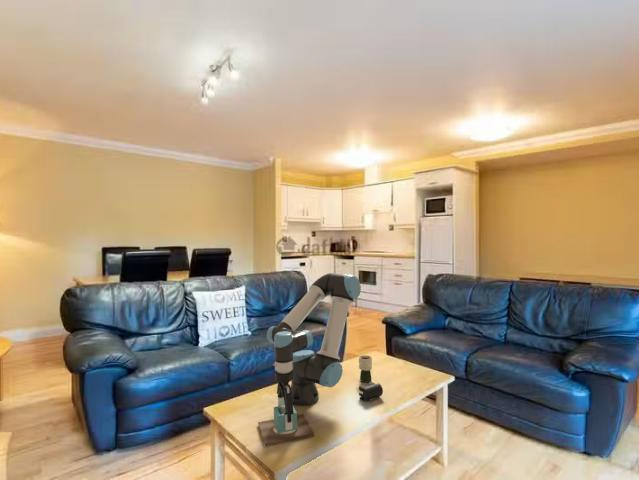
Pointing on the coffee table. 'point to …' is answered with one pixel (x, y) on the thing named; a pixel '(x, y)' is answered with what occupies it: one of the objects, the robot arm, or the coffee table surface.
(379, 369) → the coffee table surface
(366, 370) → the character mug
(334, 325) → the robot arm
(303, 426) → the post stand
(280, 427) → the teal ring
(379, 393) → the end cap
